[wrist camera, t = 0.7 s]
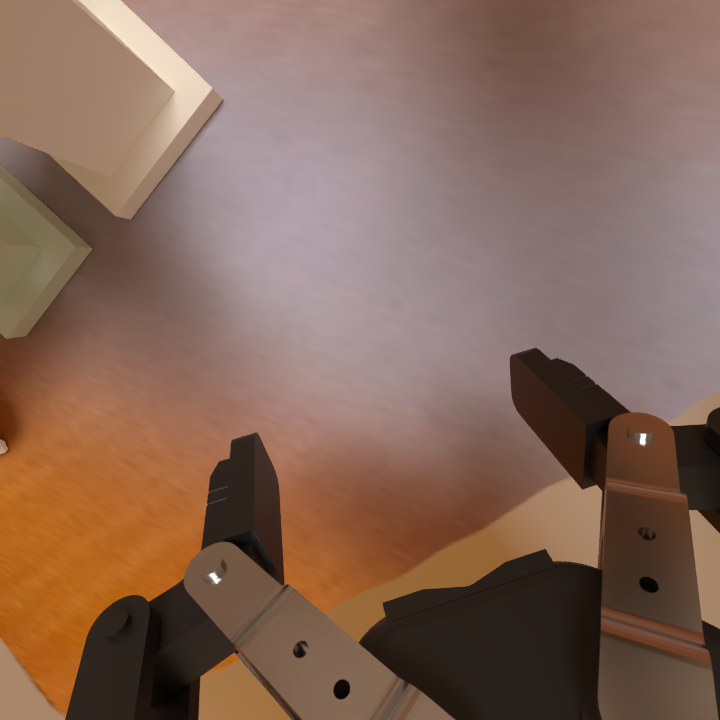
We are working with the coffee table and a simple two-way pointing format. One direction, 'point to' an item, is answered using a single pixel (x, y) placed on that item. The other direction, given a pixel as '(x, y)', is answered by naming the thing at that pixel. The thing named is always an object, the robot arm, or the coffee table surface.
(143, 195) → the tall stand
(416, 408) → the coffee table surface
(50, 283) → the short stand
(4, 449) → the white turtle figurine
